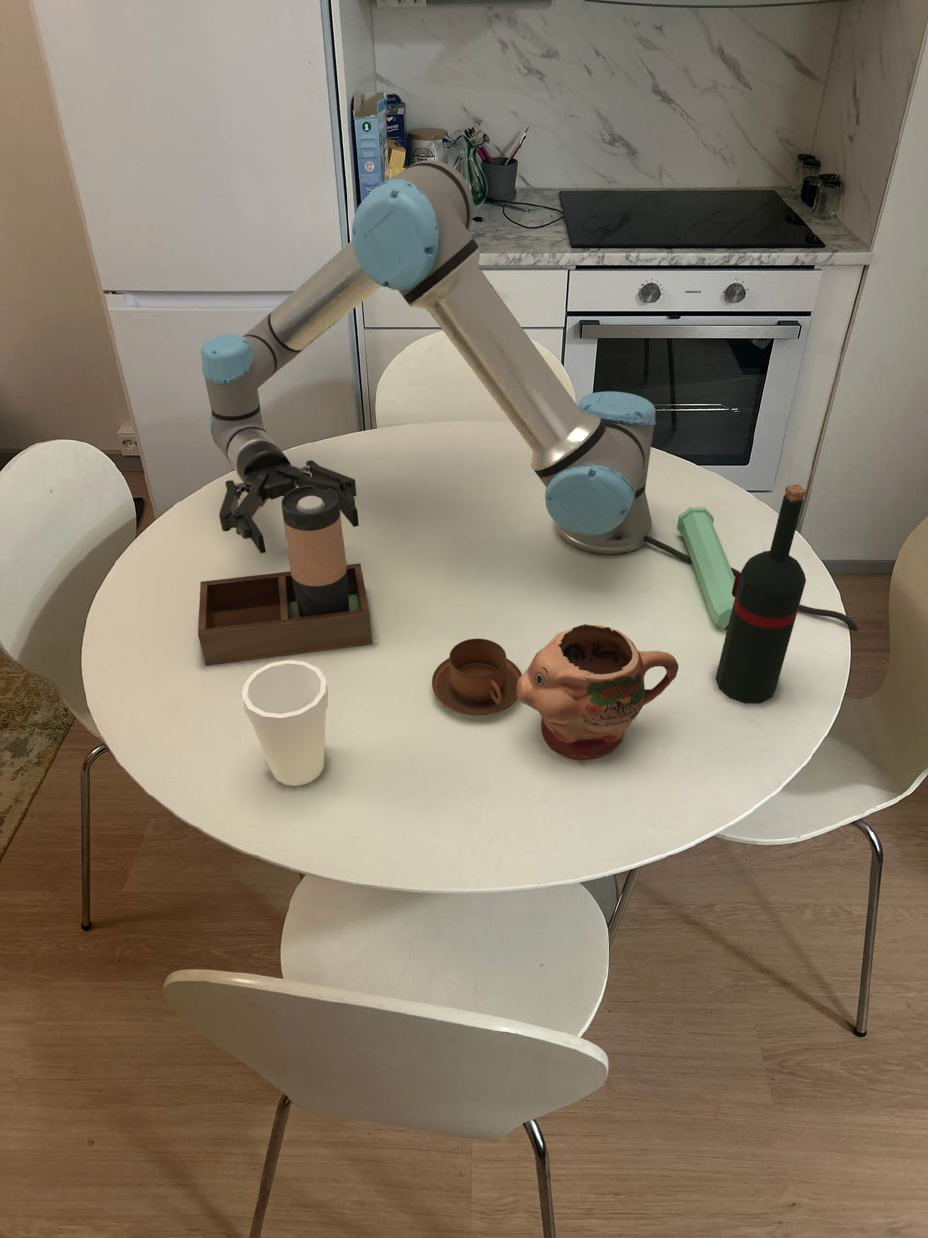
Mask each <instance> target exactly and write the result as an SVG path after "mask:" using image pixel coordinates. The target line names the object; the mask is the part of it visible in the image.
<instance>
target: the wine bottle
mask: <svg viewBox="0 0 928 1238" xmlns="http://www.w3.org/2000/svg"><path fill="white" fill-rule="evenodd" d="M784 493H785V494H784V495H783V497H782V502H781V506H780V509H779V512H778V516H777V517H778V518H777V522H776V525H775V528H774V533H773V537H772V541H771V545H770V549H769V550H765V551H761V552H760V553H757V554H754V555H753V556H751V557H750V558H749V559H748V560H747V561H746V562H745V564H744V565H743V567H742V569H741V571H740V572H741V573H738V574H737V576H736V577H735V576H734V577H735V580H734V585H733V589H732V595H733V597H735V599H734V604H733V608H732V612H731V616H730V620H729V624H728V626H727V627H726V628H725V629H723V631H726V633H725V637H724V641H723V645H722V649H721V654H720V658H719V662H718V666H717V671H716V675H715V681H716V684H717V687H718V690H720V691H721V692H722V694H724V695H726V696H727V697H728V698H729V699H732V700H734V701H737V702H740V703H743V704H763V703H764V702H766V701H768V700H770V699H772V698H773V697H774V694H775V692H776V690H777V687H778V683H779V679H780V676H781V673H782V670H783V665H784V662H785V658H786V655H787V650H788V647H789V644H790V640H791V636H792V633H793V630H794V625H795V622H796V618H797V616H798V612H799V611H798V608H799V605H801V600H802V596H803V594H804V590H805V585H806V583H807V578H806V574H805V572H804V569H803V568H802V566H801V564H800V562H799V561H798V559H796V558H794V557H793V556H791V555H790V553H791V549H792V545H793V541H794V537H795V533H796V530H797V526H798V522H799V519H800V516H801V511H802V506H803V504H804V498H805V495H806V493H807V491H806V490H805V488H803V487H802V486H801V485H800V484H799V483H798V484H790V485H785V492H784Z"/></svg>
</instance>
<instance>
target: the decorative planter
mask: <svg viewBox="0 0 928 1238" xmlns="http://www.w3.org/2000/svg"><path fill="white" fill-rule="evenodd" d="M655 667H656V668H657V667H662V668H664V669H665V671H666V673H665V675H664V677H662V679H661V680H660V681H659V682H658V683H657V684H656V685H654V687H652V688H651V689H648V688H647V689H646V688H645V687H646V686H645V676H646V673H647V672H648V671H649V670H650V669H652V668H655ZM678 671H679V663H678V661H677V659H676V657H675V656H674V655H673V654H670V653H669V652H666V651H662V650H661V651H660V650H646V651H641V650H639V649H638V648H637V647H636V644H634V642H633V641H632V640H631V639H630V638H629V637H628V636H627V635H626V634H625V633H623V632H621V631H619V630H617V629H615V628H613V627H610V626H605V625H598V624H586V623H585V624H581V625H578V626H574V627H572V628H570V629H566V630H565V631H561V632H559V633H557V634H556V635H554V637H553V638H552V639H551V641H549V642H548V643H547V644H546V645H545V646H544V647H542V648H541V649H540V650H539V651H537V652H536V653H535V655H534V657H533V658H532V660H531V662H530V664H529V666H528V667H527V669H526V670H525V672H523V673H522V676H521V677H520V678H519V680H518V682H517V695H518V700H519V701H520V702H521V703H523V704H524V705H526V706H528V707H530V708H532V709H534V710H535V711H537V713H539V715H540V717H541V720H540V731H541V735H542V738H543V740H544V742H545V744H546V745H547V746H548V748H550V749H551V750H552V751H553V752H554V753H556V754H557V755H560V756H562V757H564V758H566V759H569V760H573V761H590V760H591V761H593V760H596V759H600V758H604V757H606V756H609V755H611V754H613V753H614V751H615V750H617V748H619V746H620V745H621V744H622V741H623V738H624V736H625V732H626V730H627V729H628V727H630V725H631V724H632V722H634V720H635V719H636V718H637V716H638V715H639V713H640V712H641V711H642V709H643V707H644V706H646V705H647V704H649V703H651V702H652V701H653V700H655V699H656V698H657V697H658V696H660V695H661V694H663V692H664V691H665V689H667V687H669V686H670V685H671V683H672V682H673V681H674V680H675V679H676V678H677V675H678Z"/></svg>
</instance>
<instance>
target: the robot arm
mask: <svg viewBox="0 0 928 1238" xmlns="http://www.w3.org/2000/svg"><path fill="white" fill-rule="evenodd" d="M474 214H475V204H474V197H473V193H472V189H471V188H470V186H469V184H468V182H467V180H466V179H465V177H464V176H463V175H462V174H461V173H460V172H459V171H458V170H457V169H456V168H455V167H453V166H451V165H450V164H447V163H445V162H442V161H439V160H431V159H429V160H421V161H418V162H415V163H412V164H411V165H409V166H407V167H405V169H403V170H402V171H400V172H399V173H397V174H395V175H393V176H392V177H390V178H388V179H387V180H384V181H382V182H381V183H380V184H379V185H378V186H375V187H374V188H373V189H372V191H371V192H370V193H369V194H368V195H367V196H366V197H365V198H364V199H363V200H362V201H361V203H360V204H359V205H358V208H357V209H356V211H355V213H354V216H353V219H352V220H353V221H352V227H351V231H352V232H351V233H352V234H351V240H350V242H348V243H346V245H345V246H344V247H343V248H341V249H340V250H339V251H338V252H337V253H336V254H335V255H333V256H332V257H330V259H329V260H328V261H327V262H326V263H324V264H323V265H322V266H321V267H320V268H318V270H316V271H315V272H314V273H313V274H312V275H311V276H310V277H309V278H308V279H306V280H305V282H303V283H302V284H301V285H300V286H298V287H297V289H295V290H294V291H293V292H292V293H291V294H290V295H289V296H287V297H286V298H285V299H284V300H283V301H282V302H280V303H279V304H278V305H277V306H276V307H275V308H274V309H273V310H272V311H271V312H270V313H269V314H267V315H266V316H265V317H263V318H262V319H261V320H260V321H259V322H258V323H256V325H254V326H253V327H252V328H251V329H249V330H248V331H247V332H246V333H245V334H244V335H238V334H232V333H231V334H230V333H229V334H228V333H227V334H219V335H216V337H209V338H208V339H206V340H205V341H204V342H203V343H202V345H201V348H200V355H201V364H202V367H201V370H202V375H203V377H204V382H205V387H206V392H207V397H208V401H209V406H210V411H211V416H210V418H209V423H208V427H209V432H210V435H211V437H212V440H213V442H214V444H215V445H216V446H217V448H218V449H219V450H220V451H221V452H222V454H223V455H224V456H225V459H227V461H228V463H230V465H231V467H232V468H233V470H234V471H235V472H236V474H237V475H238V477H239V479H240V480H241V482H239V483H235V482H234V480H232V479H229V480H226V481H225V482H224V483H225V488H226V492H225V495H224V498H223V502H222V504H221V508H220V510H219V514H218V517H219V522H220V525H221V531H222V532H229V531H230V530H232V529H235V531H236V532H235V533H236V534H237V535H239V536H241V538H242V539H244V540H247V539H251V541H252V543H253V544H254V546H255V547H256V549H257V550H258V552H259V553H260V554H265V553H267V549H266V545H265V538H264V535H263V532H262V531H261V530H260V528H259V527H258V525H257V524H256V523H255V521H254V519H253V517H254V516H255V514H256V513H257V512H258V510H259V509H260V507H261V508H262V507H264V506H265V504H266V503H267V502H268V500H270V501H271V500H275V499H278V498H281V497H284V495H285V494H286V493H288V492H289V491H291V490H293V489H295V488H298V487H302V486H308V485H312V486H314V487H315V488H317V489H322V490H328V489H329V488H330V489H332V490H334V491H335V492H336V493H337V495H338V498H339V506H340V513H342V514H343V515H344V517H345V518H346V520H348V522H349V523H350V524H351V526H352V527H353V528H356V527H359V526H360V523H359V512H358V508H357V507H356V499H355V497H357V496H358V495H357V483H356V479H355V478H352V477H350V476H347V475H344V474H341V473H339V472H337V471H334V470H331V469H329V468H326V467H324V466H321V465H320V464H318V463H316V461H314V460H311V459H309V460H307V461H305V464H306V466H303V467H300V468H298V467H296V466H293V465H292V464H291V462H290V460H289V458H288V457H287V456H286V455H285V453H284V451H282V449H281V448H280V447H279V446H278V445H277V443H276V442H275V441H274V439H273V438H272V437H271V436H270V435H269V433H268V432H267V431H266V429H265V427H264V424H263V417H262V411H261V403H260V395H259V388H260V387H261V386H262V385H263V384H265V383H266V382H267V381H268V380H270V378H272V377H273V376H274V375H275V374H276V373H278V372H279V371H280V370H281V369H282V368H283V367H284V366H286V365H287V364H288V363H290V362H291V361H292V360H294V359H295V358H296V357H297V356H298V355H299V354H300V353H302V352H303V350H305V349H306V348H307V347H309V346H310V345H311V344H312V343H313V342H315V341H316V340H317V339H318V338H319V337H321V336H322V335H324V334H325V333H326V332H327V331H328V330H330V329H331V328H332V327H333V326H334V325H335V324H337V323H338V322H339V321H341V320H342V319H343V318H344V317H346V316H347V315H348V314H349V313H350V312H352V311H353V310H355V308H356V307H358V306H359V305H360V304H362V303H363V302H365V300H366V299H368V298H369V297H370V296H371V295H372V294H374V293H375V292H376V291H378V290H379V289H380V288H381V287H382V288H388V289H390V290H392V291H398V292H399V294H400V295H401V297H402V298H403V299H404V300H405V301H406V303H407V304H408V305H409V307H410V308H418V309H424V310H425V311H427V312H428V313H429V314H430V315H431V316H432V318H433V319H434V321H435V322H436V323H437V324H438V326H439V328H440V329H441V330H442V332H443V333H444V334H445V336H446V337H447V338H448V339H449V340H450V342H451V343H452V345H453V347H454V348H455V349H456V350H457V352H458V353H459V354H460V356H462V358H463V360H464V361H465V362H466V364H467V365H468V366H469V367H470V369H471V370H472V371H473V373H474V374H475V375H476V377H477V378H478V380H479V381H480V382H481V383H482V385H483V387H484V388H485V389H486V391H487V392H488V393H489V394H490V396H491V397H492V398H493V400H494V401H495V402H496V404H497V405H498V407H499V408H500V409H501V410H502V412H503V413H504V415H505V416H506V417H507V419H508V420H509V422H510V423H511V424H512V425H513V426H514V428H515V430H517V432H518V434H519V435H520V436H521V437H522V439H523V440H524V442H525V443H526V444H527V445H528V447H529V448H530V450H531V451H532V456H531V462H530V466H531V469H532V470H533V472H534V473H535V474H536V476H537V477H538V478H539V480H540V481H541V483H542V484H543V485H544V487H545V495H544V499H545V502H544V503H545V507H546V510H547V512H548V515H549V516H550V518H551V519H552V520H553V521H554V522H555V523H556V524H557V532H558V533H559V535H560V536H561V539H563V541H565V542H566V543H567V544H569V545H570V546H572V547H574V548H576V549H579V550H581V551H584V552H587V553H592V554H598V555H620V554H621V555H622V554H626V553H630V552H633V551H635V550H638V549H640V548H641V547H643V546H644V545H645V544H646V543H648V544H649V545H652V546H654V547H656V548H659V549H660V550H662V551H664V552H667V553H668V554H670V555H672V556H674V557H676V558H678V559H680V560H682V561H684V562H686V563H689V564H692V565H693V563H692V560H691V558H690V555H687V554H685V553H683V552H681V551H679V550H677V549H676V548H674V547H672V546H670V545H668V544H666V543H664V542H662V541H659V540H657V539H655V538H653V537H651V533H652V526H653V525H652V515H651V511H650V507H649V501H648V498H647V494H646V487H647V480H648V473H649V465H650V457H651V449H652V443H653V436H654V428H655V426H656V424H657V421H656V408H655V406H654V404H653V403H652V402H651V401H650V400H648V399H647V398H644V397H642V396H639V395H637V394H633V393H629V392H624V391H623V392H622V391H598V392H592V393H589V394H586V395H584V396H583V397H582V398H581V399H580V400H579V402H578V405H577V403H576V402H575V400H574V398H572V396H571V394H569V392H568V390H567V388H565V386H564V385H563V383H562V382H561V381H560V379H559V378H558V377H557V375H556V374H555V372H554V371H553V370H552V368H551V367H550V366H549V364H548V362H547V361H546V359H545V358H544V357H543V355H542V354H541V352H540V351H539V350H538V348H537V347H536V345H535V344H534V343H533V341H532V340H531V338H530V336H528V334H527V332H526V331H525V330H524V328H523V327H522V326H521V325H520V323H519V321H518V320H517V319H516V317H515V316H514V314H513V313H512V311H510V309H509V307H508V306H507V304H506V303H505V302H504V300H503V299H502V298H501V296H500V295H499V294H498V292H497V290H496V289H495V287H494V286H493V285H492V283H491V282H490V280H489V279H488V278H487V276H486V275H485V274H484V271H482V270H481V268H480V264H479V263H480V255H481V248H480V246H479V245H478V243H477V242H476V241H475V239H474V237H473V236H472V235H471V233H470V232H469V231H470V229H471V225H472V223H473V219H474ZM245 492H246V493H247V494H246V496H244V498H243V499H242V496H243V494H244V493H245ZM239 500H242V501H241V502H240V504H239ZM730 567H731V566H730ZM731 570H732V572H733V575H734V577H736V576H737V574H738V573H741V571H739V570H737V569H735V568H734V567H731ZM798 612H802V613H804V614H808V615H812V616H820V617H826V618H833V619H836V620H839V621H841V622H843V623H844V624H845V625H846V626H848V628H849V629H850V630H852V631H854V632H858V631H859V628H858V626H857V624H856V623H855V622H854V621H853V620H852V619H851V618H850V617H849V616H847V614H844V613H841V612H839V611H836V610H830V609H821V608H816V607H811V606H806V605H803V604H799V608H798Z"/></svg>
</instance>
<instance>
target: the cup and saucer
mask: <svg viewBox="0 0 928 1238" xmlns="http://www.w3.org/2000/svg"><path fill="white" fill-rule="evenodd" d="M522 675H523V673H522V671H521V670H520V669H519V667H518V666H517V664H515V663H514V662H513V661H512V660H510V659H509V658H507V653H506V651H505V649H504V648H503V646H501V645H500V644H499V643H497V642H495V641H493V640H490V639H485V638H470V639H469V638H468V639H465V640H463V641H461V642H458V643H457V644H456V645H454V646H453V647H452V648H451V650H450V652H449V656H448V658H447V659H445V660H443V661H442V662H441V663H440V664H439V665H438V666H437V667H436V669H435V670H434V672H433V675H432V679H431V686H432V690H433V693H434V695H435V697H436V699H437V700H438V701H439V703H441V704H442V705H443V706H444V707H445V708H447V709H449V710H451V711H452V712H455V713H458V714H461V715H465V716H470V717H471V716H473V717H485V716H491V715H495V714H498V713H501V712H503V711H505V710H507V709H509V708H510V707H511V706H513V705H514V704H516V702H517V701H518V700H519V698H518V695H517V682H518V680H519V678H520V677H521V676H522Z"/></svg>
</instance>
